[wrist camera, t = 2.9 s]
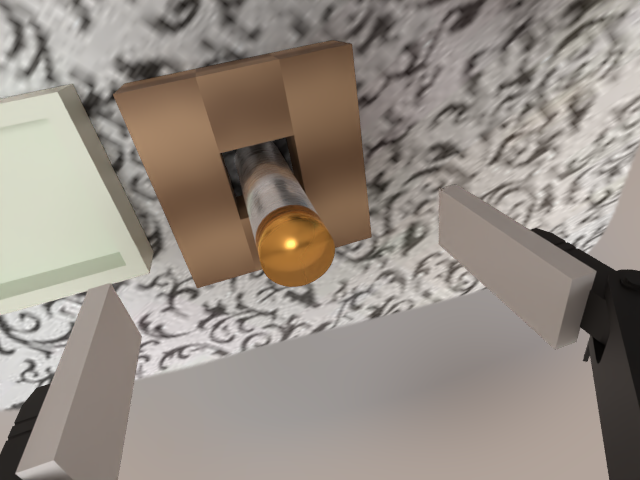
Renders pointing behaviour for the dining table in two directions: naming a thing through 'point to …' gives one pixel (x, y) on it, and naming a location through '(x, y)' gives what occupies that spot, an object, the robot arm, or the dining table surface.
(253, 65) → the block
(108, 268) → the tray
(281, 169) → the clear capped vial
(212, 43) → the dining table surface
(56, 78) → the dining table surface
